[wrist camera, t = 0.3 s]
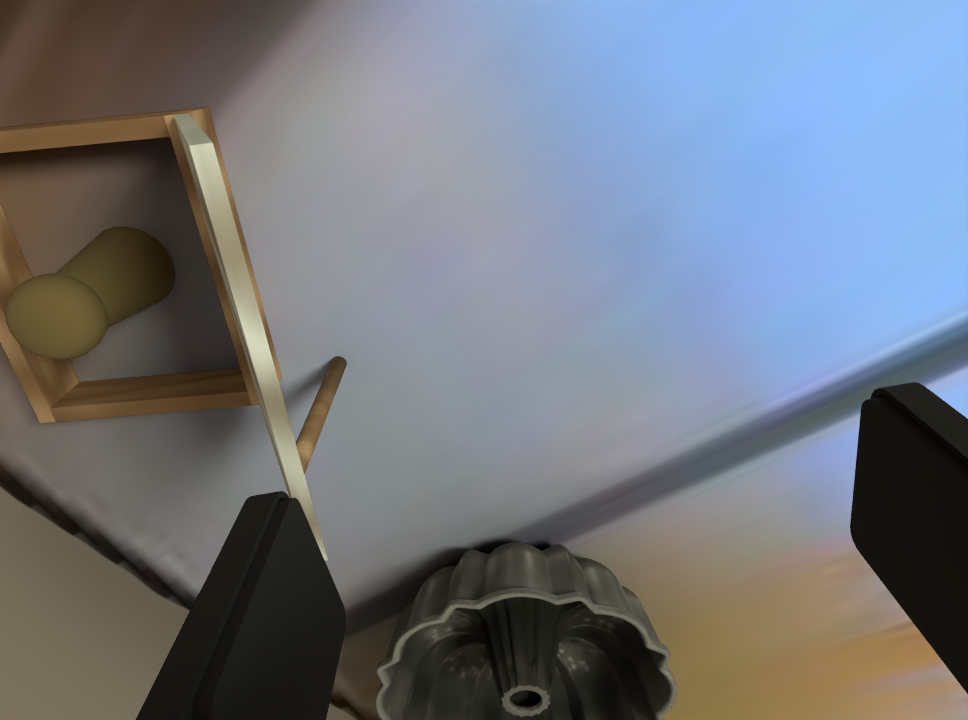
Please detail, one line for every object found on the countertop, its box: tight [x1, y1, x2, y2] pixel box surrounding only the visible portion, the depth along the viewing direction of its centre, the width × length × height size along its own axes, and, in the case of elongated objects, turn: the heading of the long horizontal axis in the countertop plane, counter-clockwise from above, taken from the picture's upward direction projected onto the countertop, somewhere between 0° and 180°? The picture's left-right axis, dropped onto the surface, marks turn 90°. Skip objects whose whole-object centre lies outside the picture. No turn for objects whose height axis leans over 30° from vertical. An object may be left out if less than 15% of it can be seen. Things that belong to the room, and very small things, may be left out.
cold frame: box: [0, 107, 346, 561], centre depth 36 cm, size 20×25×21 cm
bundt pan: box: [376, 542, 677, 720], centre depth 59 cm, size 26×26×10 cm
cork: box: [5, 227, 175, 359], centre depth 41 cm, size 6×6×11 cm
